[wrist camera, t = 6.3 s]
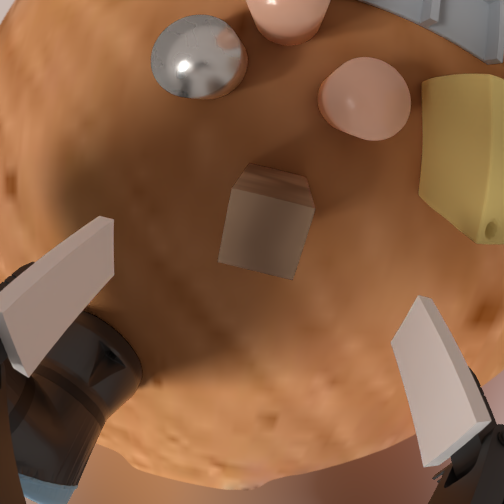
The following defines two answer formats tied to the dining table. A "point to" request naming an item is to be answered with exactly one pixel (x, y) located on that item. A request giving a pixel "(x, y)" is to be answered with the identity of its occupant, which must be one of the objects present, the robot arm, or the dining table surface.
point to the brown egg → (365, 99)
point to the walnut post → (267, 221)
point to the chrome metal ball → (199, 58)
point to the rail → (457, 22)
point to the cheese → (465, 153)
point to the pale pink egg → (288, 19)
